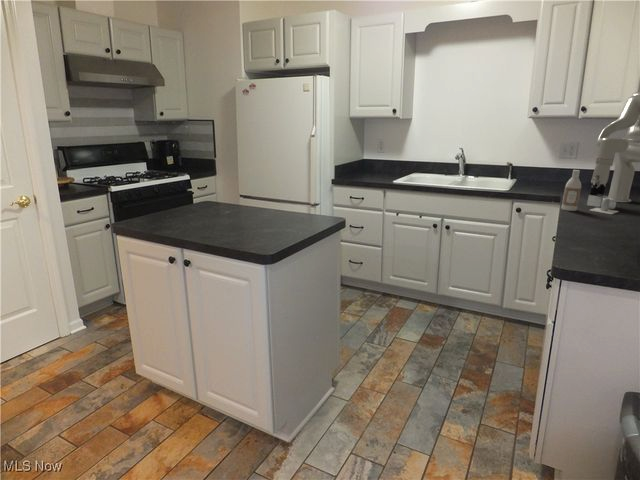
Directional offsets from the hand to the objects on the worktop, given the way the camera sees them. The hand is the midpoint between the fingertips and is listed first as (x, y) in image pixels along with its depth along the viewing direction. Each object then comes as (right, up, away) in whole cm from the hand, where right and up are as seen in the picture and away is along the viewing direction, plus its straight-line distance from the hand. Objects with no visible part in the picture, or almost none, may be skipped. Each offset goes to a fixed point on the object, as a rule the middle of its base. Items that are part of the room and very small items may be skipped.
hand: (596, 194), depth 228 cm
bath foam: (-20, -9, -10) cm, 24 cm away
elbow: (+2, -6, 0) cm, 7 cm away
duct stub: (-4, -9, -11) cm, 15 cm away
